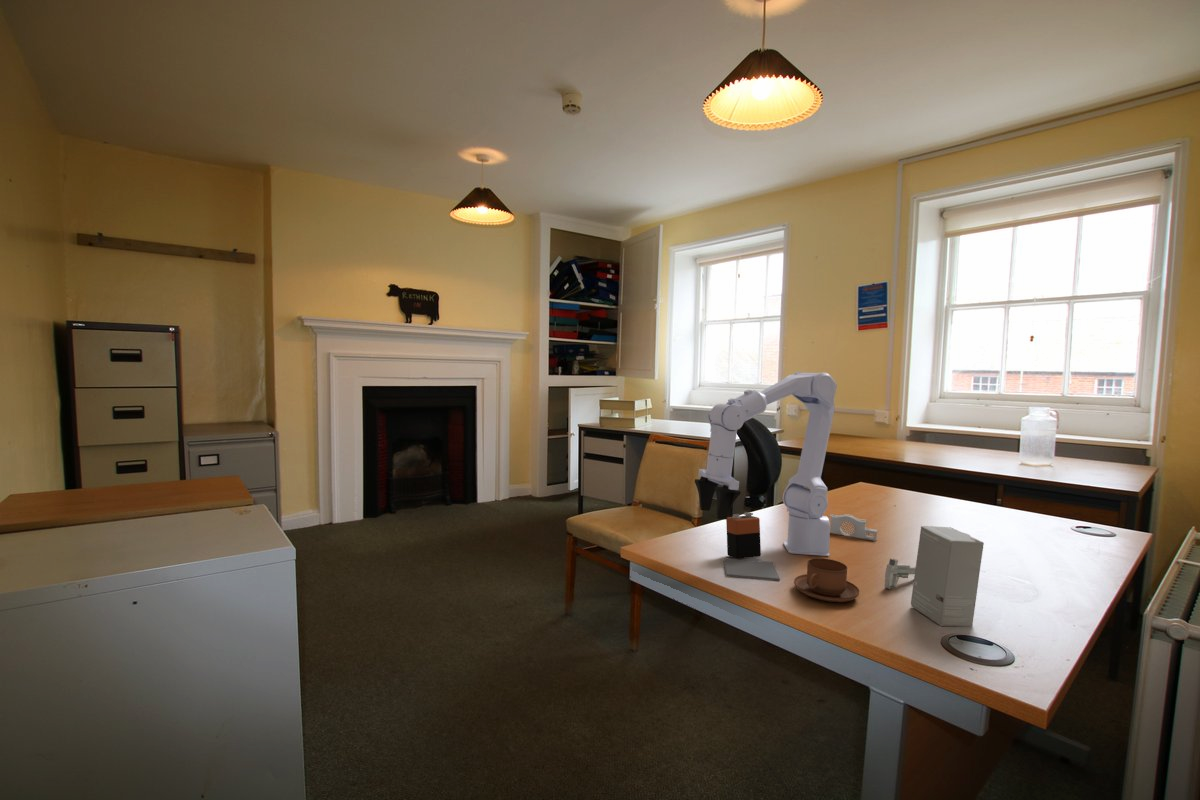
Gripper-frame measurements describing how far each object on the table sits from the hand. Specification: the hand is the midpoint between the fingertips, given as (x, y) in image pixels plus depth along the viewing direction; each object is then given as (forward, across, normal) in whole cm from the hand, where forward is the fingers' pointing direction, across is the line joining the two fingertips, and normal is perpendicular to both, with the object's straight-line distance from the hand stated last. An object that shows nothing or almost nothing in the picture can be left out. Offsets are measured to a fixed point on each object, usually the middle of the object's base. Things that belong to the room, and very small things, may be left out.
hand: (713, 514), depth 124 cm
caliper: (+7, +21, +38) cm, 44 cm away
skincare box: (+8, +36, +28) cm, 47 cm away
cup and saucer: (+10, +22, +14) cm, 28 cm away
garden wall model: (+6, -7, +48) cm, 49 cm away
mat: (+10, +7, +7) cm, 14 cm away
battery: (+10, 0, +10) cm, 14 cm away
